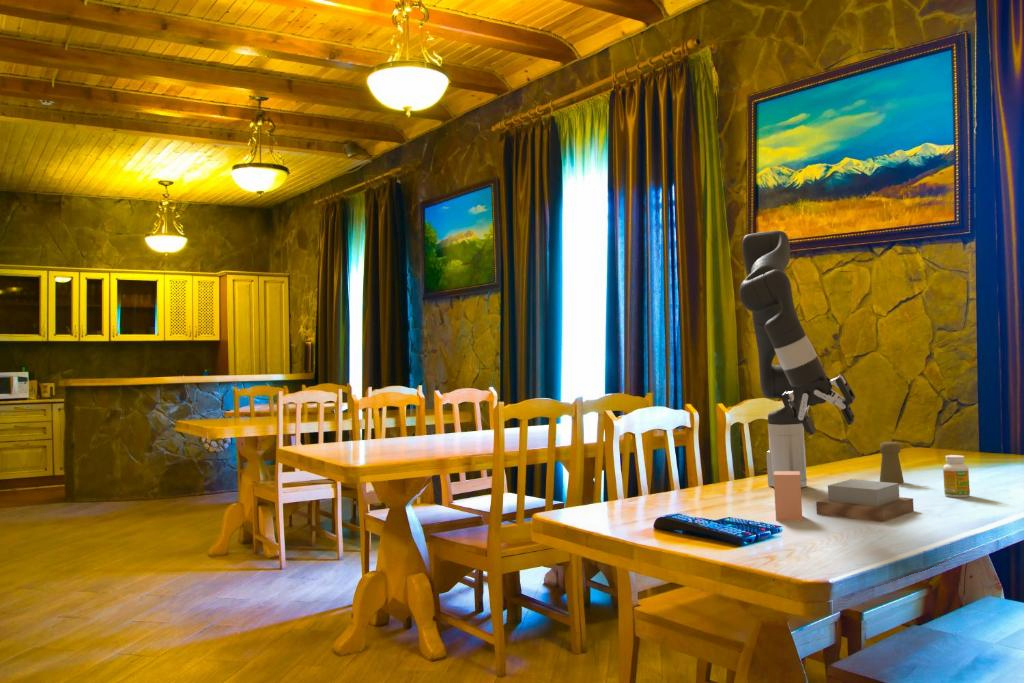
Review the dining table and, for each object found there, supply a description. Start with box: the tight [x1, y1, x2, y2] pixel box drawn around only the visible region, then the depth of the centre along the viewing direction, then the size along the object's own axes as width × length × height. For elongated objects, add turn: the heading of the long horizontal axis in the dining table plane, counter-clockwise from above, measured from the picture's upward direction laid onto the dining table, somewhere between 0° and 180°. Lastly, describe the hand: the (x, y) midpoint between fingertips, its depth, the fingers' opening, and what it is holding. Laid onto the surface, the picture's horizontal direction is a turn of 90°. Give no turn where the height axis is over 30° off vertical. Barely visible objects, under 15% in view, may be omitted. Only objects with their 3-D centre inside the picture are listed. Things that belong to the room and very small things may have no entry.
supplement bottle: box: [942, 454, 971, 499], centre depth 195 cm, size 5×5×10 cm
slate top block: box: [827, 478, 900, 506], centre depth 181 cm, size 11×11×4 cm
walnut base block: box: [815, 496, 915, 523], centre depth 181 cm, size 15×15×4 cm
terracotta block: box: [773, 471, 803, 522], centre depth 179 cm, size 6×6×10 cm
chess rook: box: [879, 441, 905, 485], centre depth 219 cm, size 6×6×11 cm
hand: (831, 428), depth 172 cm, fingers open, 8 cm apart
